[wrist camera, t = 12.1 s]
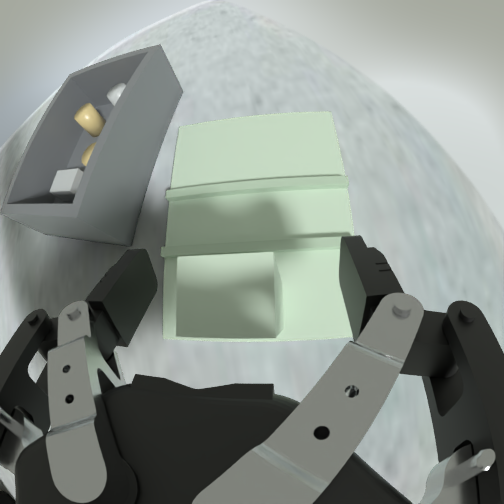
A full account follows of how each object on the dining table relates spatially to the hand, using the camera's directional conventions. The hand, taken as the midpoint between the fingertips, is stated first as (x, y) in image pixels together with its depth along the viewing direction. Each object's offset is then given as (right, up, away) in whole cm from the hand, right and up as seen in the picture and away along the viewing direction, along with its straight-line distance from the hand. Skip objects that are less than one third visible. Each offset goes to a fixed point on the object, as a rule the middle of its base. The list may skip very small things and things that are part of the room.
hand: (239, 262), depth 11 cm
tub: (-12, +9, +10) cm, 18 cm away
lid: (+1, +3, +7) cm, 8 cm away
